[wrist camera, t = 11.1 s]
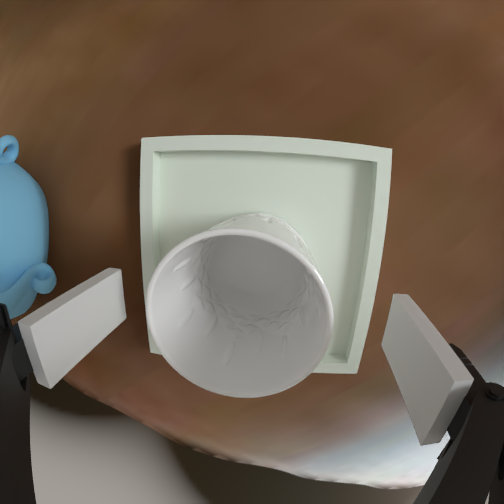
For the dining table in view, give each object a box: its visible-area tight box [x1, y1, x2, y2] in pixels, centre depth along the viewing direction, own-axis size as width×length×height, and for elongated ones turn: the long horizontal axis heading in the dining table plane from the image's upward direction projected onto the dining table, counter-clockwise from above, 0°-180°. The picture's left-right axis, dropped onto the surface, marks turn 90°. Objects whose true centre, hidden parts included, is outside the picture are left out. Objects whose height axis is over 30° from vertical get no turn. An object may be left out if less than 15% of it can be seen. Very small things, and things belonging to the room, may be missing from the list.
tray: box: [140, 135, 392, 374], centre depth 21 cm, size 17×17×2 cm
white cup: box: [146, 212, 334, 398], centre depth 17 cm, size 8×8×10 cm
